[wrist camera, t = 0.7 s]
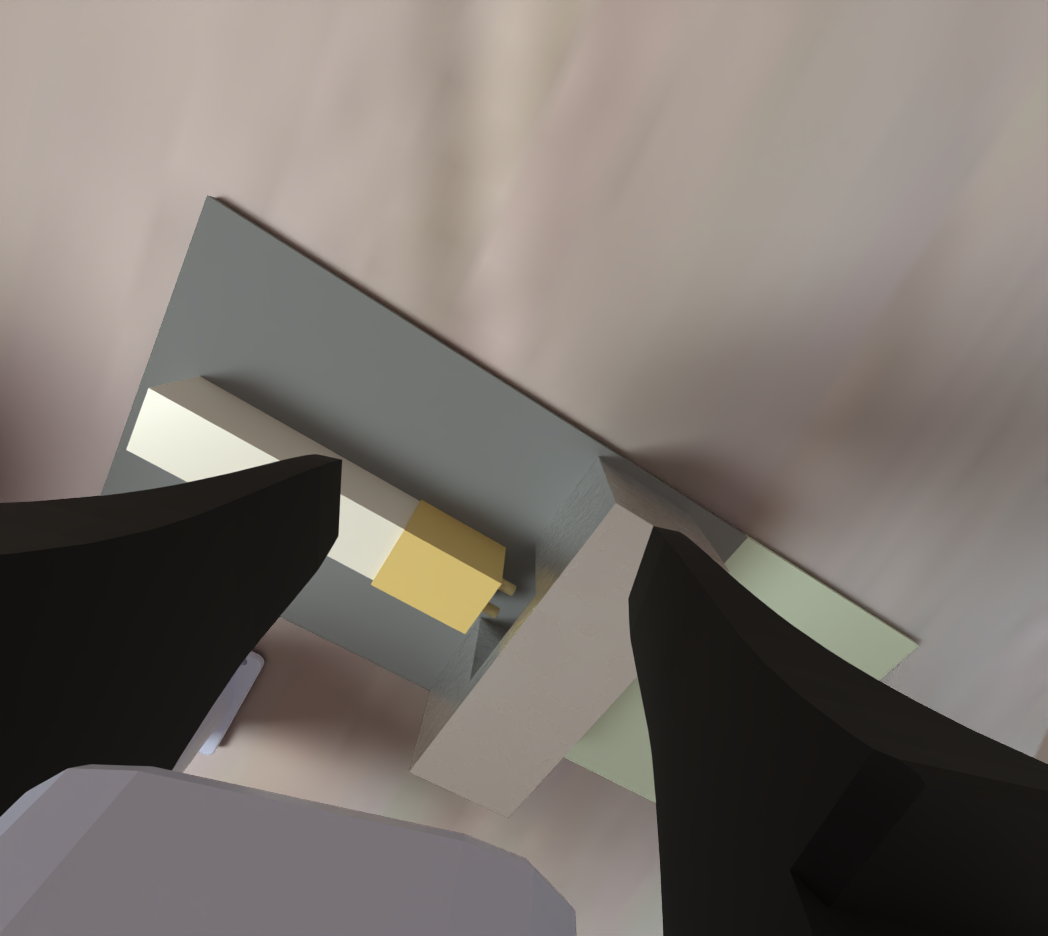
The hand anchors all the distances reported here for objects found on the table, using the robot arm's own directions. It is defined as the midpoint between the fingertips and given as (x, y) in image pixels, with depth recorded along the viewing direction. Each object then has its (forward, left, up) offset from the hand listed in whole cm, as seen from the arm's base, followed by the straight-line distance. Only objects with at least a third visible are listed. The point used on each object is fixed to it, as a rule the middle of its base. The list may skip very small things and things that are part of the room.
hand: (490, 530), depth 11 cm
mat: (+4, -7, -11) cm, 13 cm away
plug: (-4, -7, -10) cm, 13 cm away
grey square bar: (+6, -7, -10) cm, 14 cm away
